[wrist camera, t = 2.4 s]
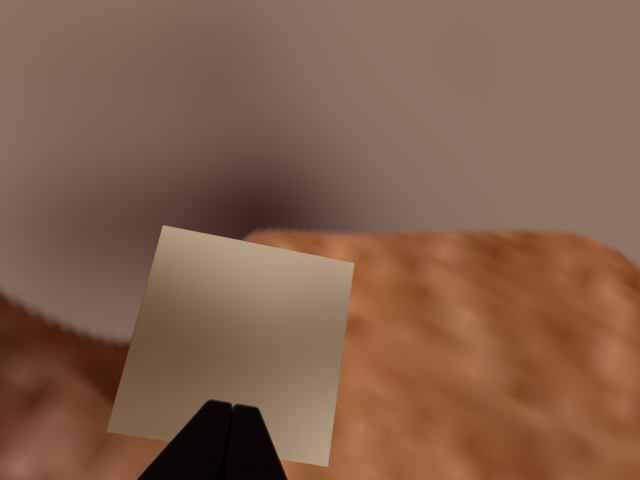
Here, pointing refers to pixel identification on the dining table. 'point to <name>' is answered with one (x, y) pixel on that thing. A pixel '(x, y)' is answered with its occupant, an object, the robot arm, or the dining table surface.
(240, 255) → the plain block
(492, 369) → the dining table surface
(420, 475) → the dining table surface
